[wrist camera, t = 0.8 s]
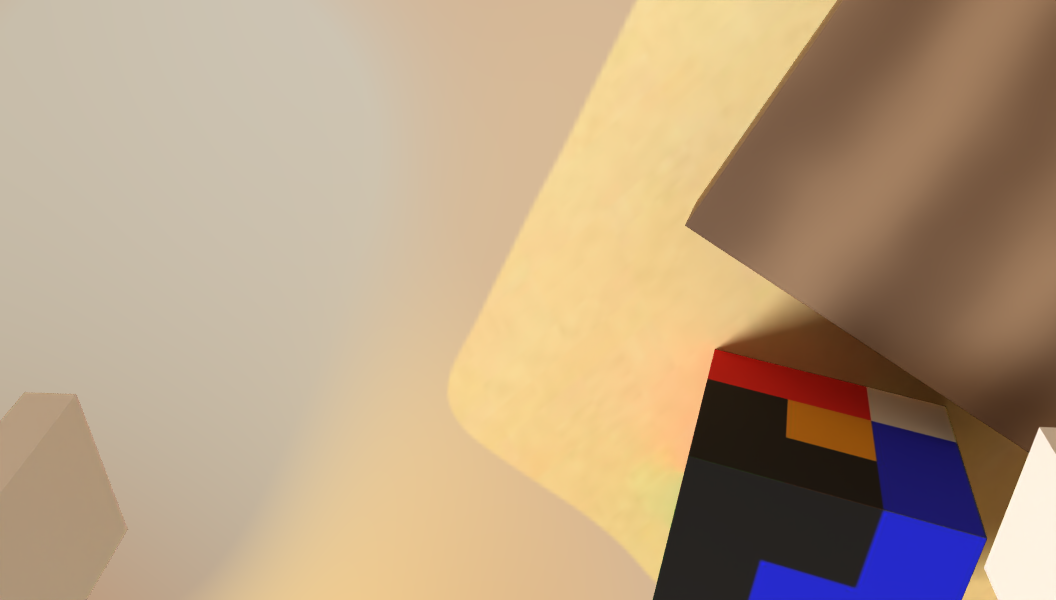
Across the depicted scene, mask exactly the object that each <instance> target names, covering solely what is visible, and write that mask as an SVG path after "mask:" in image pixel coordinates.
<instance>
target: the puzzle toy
mask: <svg viewBox="0 0 1056 600" xmlns="http://www.w3.org/2000/svg"><path fill="white" fill-rule="evenodd" d="M986 540H987V536H986V533H985V530H984V527H983V524H982V520H981V517H980V514H979V511H978V508H977V504H976V501H975V498H974V495H973V492H972V489H971V485H970V482H969V479H968V476H967V473H966V469H965V466H964V463H963V460H962V457H961V453H960V450H959V447H958V444H957V441H956V437H955V434H954V431H953V428H952V425H951V421H950V418H949V415H948V412H947V409H946V407H945V406H941V405H937V404H933V403H929V402H925V401H921V400H917V399H913V398H909V397H905V396H901V395H897V394H893V393H889V392H885V391H881V390H877V389H873V388H869V387H865V386H861V385H857V384H853V383H849V382H845V381H841V380H837V379H833V378H829V377H825V376H821V375H817V374H813V373H809V372H805V371H801V370H797V369H793V368H789V367H785V366H781V365H777V364H773V363H769V362H765V361H761V360H757V359H753V358H749V357H745V356H741V355H737V354H733V353H729V352H725V351H721V350H717V349H715V351H714V355H713V359H712V363H711V367H710V371H709V375H708V379H707V383H706V387H705V391H704V395H703V399H702V403H701V407H700V411H699V415H698V419H697V423H696V428H695V432H694V436H693V440H692V444H691V448H690V452H689V456H688V460H687V464H686V468H685V472H684V476H683V480H682V484H681V488H680V492H679V496H678V500H677V504H676V508H675V512H674V516H673V520H672V524H671V528H670V532H669V536H668V540H667V544H666V548H665V552H664V556H663V560H662V564H661V568H660V572H659V577H658V581H657V585H656V589H655V593H654V597H653V600H962V598H963V596H964V593H965V591H966V588H967V586H968V584H969V581H970V579H971V576H972V574H973V571H974V569H975V567H976V564H977V562H978V559H979V557H980V555H981V552H982V550H983V547H984V545H985V543H986Z"/></svg>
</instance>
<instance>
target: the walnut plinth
mask: <svg viewBox="0 0 1056 600" xmlns="http://www.w3.org/2000/svg"><path fill="white" fill-rule="evenodd" d="M685 226H687V227H688V228H690V229H691V230H693V231H694V232H696V233H697V234H699V235H700V236H702V237H703V238H705V239H706V240H708V241H709V242H711V243H712V244H714V245H715V246H717V247H718V248H720V249H721V250H723V251H724V252H726V253H727V254H729V255H731V256H732V257H734V258H735V259H737V260H738V261H740V262H741V263H743V264H744V265H746V266H747V267H749V268H750V269H752V270H753V271H755V272H756V273H758V274H759V275H761V276H762V277H764V278H765V279H767V280H768V281H770V282H771V283H773V284H774V285H776V286H777V287H779V288H780V289H782V290H784V291H785V292H787V293H788V294H790V295H791V296H793V297H794V298H796V299H797V300H799V301H800V302H802V303H803V304H805V305H806V306H808V307H809V308H811V309H812V310H814V311H815V312H817V313H818V314H820V315H821V316H823V317H824V318H826V319H827V320H829V321H830V322H832V323H833V324H835V325H836V326H838V327H840V328H841V329H843V330H844V331H846V332H847V333H849V334H850V335H852V336H853V337H855V338H856V339H858V340H859V341H861V342H862V343H864V344H865V345H867V346H868V347H870V348H871V349H873V350H874V351H876V352H877V353H879V354H880V355H882V356H883V357H885V358H886V359H888V360H889V361H891V362H893V363H894V364H896V365H897V366H899V367H900V368H902V369H903V370H905V371H906V372H908V373H909V374H911V375H912V376H914V377H915V378H917V379H918V380H920V381H921V382H923V383H924V384H926V385H927V386H929V387H930V388H932V389H933V390H935V391H936V392H938V393H939V394H941V395H942V396H944V397H946V398H947V399H949V400H950V401H952V402H953V403H955V404H956V405H958V406H959V407H961V408H962V409H964V410H965V411H967V412H968V413H970V414H971V415H973V416H974V417H976V418H977V419H979V420H980V421H982V422H983V423H985V424H986V425H988V426H989V427H991V428H992V429H994V430H995V431H997V432H999V433H1000V434H1002V435H1003V436H1005V437H1006V438H1008V439H1009V440H1011V441H1012V442H1014V443H1015V444H1017V445H1018V446H1020V447H1021V448H1023V449H1024V450H1026V451H1027V452H1030V450H1031V447H1032V444H1033V442H1034V439H1035V437H1036V434H1037V432H1038V429H1039V427H1054V428H1056V0H837V2H836V3H835V5H834V6H833V7H832V9H831V10H830V12H829V13H828V15H827V16H826V17H825V19H824V20H823V22H822V23H821V25H820V26H819V27H818V29H817V30H816V32H815V33H814V35H813V36H812V37H811V39H810V40H809V42H808V43H807V45H806V46H805V47H804V49H803V50H802V52H801V53H800V55H799V56H798V57H797V59H796V60H795V62H794V63H793V65H792V66H791V67H790V69H789V70H788V72H787V73H786V75H785V76H784V77H783V79H782V80H781V82H780V83H779V85H778V86H777V87H776V89H775V90H774V92H773V93H772V95H771V96H770V97H769V99H768V100H767V102H766V103H765V105H764V106H763V107H762V109H761V110H760V112H759V113H758V115H757V116H756V117H755V119H754V120H753V122H752V123H751V125H750V126H749V127H748V129H747V130H746V132H745V133H744V135H743V136H742V137H741V139H740V140H739V142H738V143H737V145H736V146H735V148H734V149H733V150H732V152H731V153H730V155H729V156H728V158H727V159H726V160H725V162H724V163H723V165H722V166H721V168H720V169H719V170H718V172H717V173H716V175H715V176H714V178H713V179H712V180H711V182H710V183H709V185H708V186H707V188H706V189H705V190H704V192H703V193H702V195H701V196H700V198H699V199H698V200H697V202H696V204H695V206H694V208H693V210H692V212H691V214H690V216H689V218H688V220H687V223H686V225H685Z"/></svg>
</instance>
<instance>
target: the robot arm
mask: <svg viewBox="0 0 1056 600" xmlns="http://www.w3.org/2000/svg"><path fill="white" fill-rule="evenodd" d="M127 530H128V529H127V526H126V524H125V521H124V519H123V516H122V513H121V511H120V508H119V505H118V503H117V500H116V497H115V495H114V492H113V489H112V487H111V484H110V482H109V479H108V476H107V474H106V471H105V468H104V466H103V463H102V460H101V458H100V455H99V452H98V450H97V447H96V445H95V442H94V439H93V437H92V434H91V432H90V429H89V426H88V424H87V421H86V419H85V416H84V413H83V410H82V408H81V405H80V402H79V400H78V397H77V395H76V394H54V393H24V394H23V395H22V396H21V397H20V398H19V399H18V401H17V402H16V403H15V405H14V406H13V407H12V408H11V409H10V410H9V411H8V412H7V414H6V415H5V416H4V418H2V420H1V421H0V600H87V599H88V597H89V595H90V594H91V592H92V590H93V588H94V587H95V585H96V583H97V582H98V579H99V578H100V576H101V575H102V573H103V571H104V569H105V568H106V566H107V564H108V562H109V561H110V559H111V557H112V556H113V554H114V552H115V550H116V548H117V547H118V545H119V544H120V542H121V540H122V538H123V537H124V535H125V533H126V531H127ZM984 569H985V571H986V573H987V576H988V578H989V580H990V583H991V585H992V587H993V589H994V592H995V594H996V596H997V599H998V600H1056V428H1054V427H1039V429H1038V432H1037V434H1036V437H1035V439H1034V442H1033V444H1032V447H1031V450H1030V452H1029V455H1028V457H1027V460H1026V462H1025V465H1024V467H1023V470H1022V472H1021V475H1020V477H1019V480H1018V483H1017V485H1016V488H1015V490H1014V493H1013V495H1012V498H1011V500H1010V503H1009V505H1008V508H1007V510H1006V513H1005V516H1004V518H1003V521H1002V523H1001V526H1000V528H999V531H998V533H997V536H996V538H995V541H994V544H993V546H992V549H991V551H990V554H989V556H988V559H987V561H986V564H985V566H984Z"/></svg>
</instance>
